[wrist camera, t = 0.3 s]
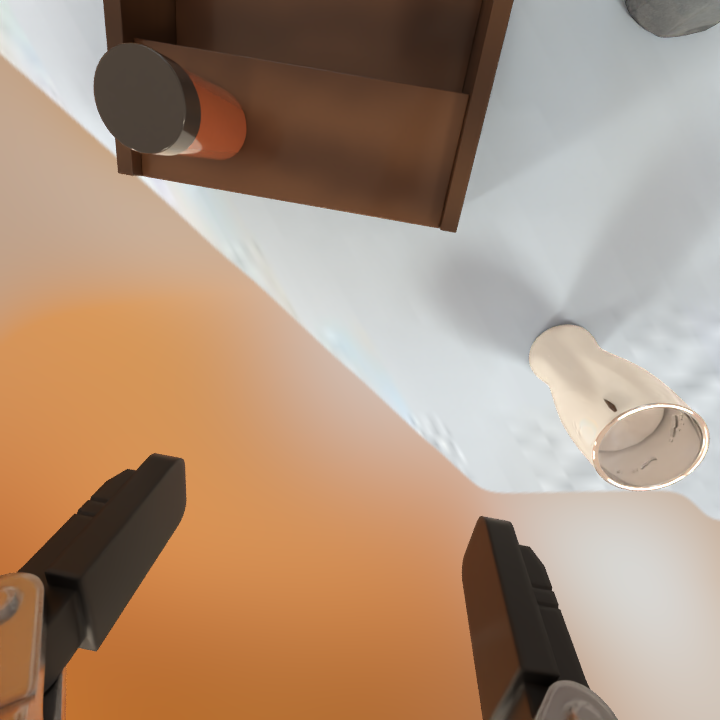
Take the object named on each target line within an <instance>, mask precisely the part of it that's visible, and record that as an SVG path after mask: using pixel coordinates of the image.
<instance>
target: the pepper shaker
mask: <svg viewBox="0 0 720 720" xmlns="http://www.w3.org/2000/svg"><path fill="white" fill-rule="evenodd" d="M94 96H95V102H96V106H97V109H98V112H99V114H100V116H101V119H102V121H103V122H104V124H105V126H106V127H107V129H108V130H109V131H110V133H111V134H112V135H113V136H114V137H115V138H116V139H117V140H118V141H119V142H120V143H122V144H123V145H124V146H126V147H127V148H129V149H131V150H133V151H136V152H139V153H143V154H151V155H160V156H172V155H179V156H188V157H196V158H205V159H213V160H225V159H228V158H231V157H232V156H234V155H235V154H236V153H237V152H238V151H239V150H240V149H241V147H242V145H243V143H244V141H245V137H246V130H247V129H246V119H245V115H244V112H243V110H242V107H241V105H240V104H239V102H238V101H237V100H236V98H235V97H234V96H233V95H232V94H231V93H229V92H228V91H226V90H225V89H223V88H221V87H219V86H217V85H215V84H213V83H211V82H209V81H207V80H206V79H204V78H202V77H200V76H198V75H196V74H194V73H192V72H190V71H188V70H186V69H184V68H182V67H181V66H180V65H179V64H177V63H176V62H175V61H173V60H172V59H170V58H168V57H167V56H165V55H163V54H161V53H159V52H157V51H155V50H153V49H152V48H150V47H147V46H145V45H142V44H138V43H123V44H119V45H117V46H114V47H112V48H111V49H110V50H108V51H107V52H106V53H105V54H104V55H103V57H102V58H101V60H100V61H99V64H98V66H97V68H96V72H95V77H94Z"/></svg>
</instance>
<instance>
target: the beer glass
mask: <svg viewBox="0 0 720 720" xmlns="http://www.w3.org/2000/svg"><path fill="white" fill-rule="evenodd" d="M529 364H530V367H531V369H532V371H533V373H534V374H535V375H536V376H537V377H538V378H539V379H540V380H542V381H543V382H544V383H546V384H547V385H548V386H549V388H550V391H551V394H552V397H553V401H554V404H555V407H556V410H557V413H558V415H559V417H560V420H561V422H562V424H563V426H564V428H565V429H566V431H567V433H568V435H569V436H570V438H571V439H572V440H573V442H574V443H575V445H576V446H577V447H578V449H579V450H580V451H581V452H582V454H583V455H584V456H585V457H586V459H587V460H588V461H589V462H590V463H591V464H592V465H593V467H594V468H595V469H596V471H597V472H598V474H599V475H600V476H601V477H602V478H603V479H604V480H605V481H607V482H608V483H610V484H611V485H613V486H616V487H618V488H621V489H626V490H632V491H648V490H655V489H659V488H663V487H666V486H669V485H671V484H674V483H676V482H678V481H679V480H681V479H683V478H684V477H686V476H687V475H689V474H690V473H691V472H692V471H693V470H694V469H695V468H696V467H697V466H698V465H699V464H700V463H701V461H702V460H703V458H704V457H705V455H706V453H707V450H708V446H709V439H710V438H709V430H708V427H707V425H706V423H705V422H704V420H703V419H702V418H701V416H699V415H698V414H697V413H696V412H695V411H693V410H692V409H691V408H690V407H689V406H688V405H687V404H686V403H685V402H684V401H683V400H682V399H681V398H680V397H679V396H678V395H677V394H676V393H675V392H674V391H673V390H671V389H670V388H669V387H668V386H667V385H665V384H664V383H663V382H662V381H661V380H659V379H658V378H657V377H655V376H654V375H652V374H651V373H650V372H648V371H647V370H645V369H644V368H642V367H640V366H638V365H636V364H634V363H632V362H630V361H628V360H626V359H624V358H621V357H619V356H617V355H614V354H612V353H609V352H607V351H605V350H603V349H601V348H600V347H599V345H598V343H597V342H596V340H595V338H594V337H593V336H592V335H591V333H589V332H588V331H587V330H586V329H584V328H582V327H580V326H576V325H570V324H565V325H558V326H555V327H552V328H550V329H548V330H546V331H544V332H543V333H542V334H541V335H539V336H538V337H537V339H536V340H535V341H534V343H533V344H532V346H531V349H530V352H529Z"/></svg>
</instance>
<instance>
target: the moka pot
mask: <svg viewBox="0 0 720 720" xmlns="http://www.w3.org/2000/svg"><path fill="white" fill-rule="evenodd" d="M626 5H627V7H628V11H629V13H630V14H631V16H632V17H633V18H634V19H635V20H636V22H637V23H638V24H640V25H641V26H642V27H643V28H645V29H646V30H647V31H649V32H651V33H653V34H655V35H656V36H658V37H663V38H665V37H677V36H683V35H688V34H692V33H697V32H701V31H705V30H707V29H709V28H711V27H712V26H714V25H716V24H717V23H719V22H720V0H626Z"/></svg>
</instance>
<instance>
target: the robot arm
mask: <svg viewBox="0 0 720 720" xmlns="http://www.w3.org/2000/svg"><path fill="white" fill-rule="evenodd" d="M185 507H186V480H185V463H184V460H183V459H182V458H178V457H172V456H167V455H162V454H156V453H154V454H152V455H150V456H149V457H148V458H147V459H146V460H145V461H144V462H143V463H142V465H141V466H140V467H139V468H138V469H137V470H130V469H127V470H125V471H123V472H121V473H120V474H118V475H116V476H115V477H113V478H111V479H109V480H108V481H106V482H105V483H104V484H103V485H102V486H101V487H100V488H99V489H98V490H97V491H96V492H95V494H94V495H92V497H91V499H90V500H88V501H87V502H86V503H85V504H84V505H83V506H82V507H81V508H80V509H79V510H78V513H77V514H74V515H73V516H72V517H71V518H70V519H69V520H68V521H67V522H66V523H65V524H64V525H63V526H62V527H61V528H60V529H59V530H58V531H57V532H56V533H55V534H54V535H53V536H52V537H51V538H50V539H49V540H48V542H47V543H46V544H45V545H44V546H43V547H42V548H41V549H40V550H39V551H38V552H37V553H36V554H35V555H34V556H33V557H32V558H31V559H30V560H29V561H28V562H27V563H26V564H25V565H24V566H23V567H22V568H21V569H20V570H19V571H18V572H16V573H9V574H5V575H1V576H0V720H65V715H66V713H65V712H66V711H65V710H66V665H67V663H68V662H69V661H70V659H71V658H72V656H73V654H74V653H75V652H76V650H77V649H78V648H82V649H87V650H92V651H97V650H98V649H99V647H100V645H101V644H102V642H103V641H104V639H105V638H106V636H107V635H108V633H109V632H110V630H111V628H112V627H113V625H114V624H115V622H116V621H117V619H118V618H119V616H120V615H121V613H122V612H123V610H124V608H125V607H126V605H127V604H128V602H129V601H130V599H131V598H132V596H133V595H134V593H135V591H136V590H137V588H138V587H139V585H140V584H141V582H142V581H143V579H144V578H145V576H146V574H147V573H148V571H149V570H150V568H151V566H152V565H153V564H154V562H155V560H156V559H157V557H158V556H159V554H160V553H161V551H162V550H163V548H164V547H165V545H166V543H167V542H168V540H169V539H170V537H171V536H172V534H173V533H174V531H175V530H176V528H177V526H178V525H179V523H180V521H181V519H182V517H183V514H184V511H185ZM462 581H463V588H464V594H465V601H466V608H467V615H468V622H469V629H470V636H471V642H472V649H473V656H474V663H475V669H476V676H477V683H478V689H479V695H480V703H481V710H482V716H483V720H618V719H617V718H616V716H615V714H614V713H613V712H612V710H611V709H610V708H609V707H608V705H607V704H606V703H605V702H604V701H603V700H602V699H601V698H600V697H599V696H598V695H597V694H595V693H594V692H593V691H592V690H590V688H589V686H588V684H587V681H586V679H585V676H584V674H583V671H582V668H581V665H580V662H579V660H578V657H577V654H576V652H575V649H574V646H573V643H572V641H571V638H570V635H569V632H568V630H567V627H566V624H565V622H564V619H563V616H562V613H561V610H560V609H558V602H557V599H556V597H555V594H554V592H553V591H552V586H551V583H550V580H549V578H548V575H547V572H546V569H545V567H544V565H543V564H542V562H541V561H540V560H539V558H538V557H537V556H536V555H535V553H534V552H533V550H532V549H531V548H530V547H528V546H522V545H519V543H518V540H517V537H516V534H515V531H514V528H513V525H512V523H511V522H509V521H505V520H499V519H494V518H488V517H483V516H481V517H479V519H478V521H477V523H476V526H475V528H474V531H473V533H472V536H471V539H470V541H469V544H468V547H467V550H466V552H465V555H464V558H463V565H462Z"/></svg>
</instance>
